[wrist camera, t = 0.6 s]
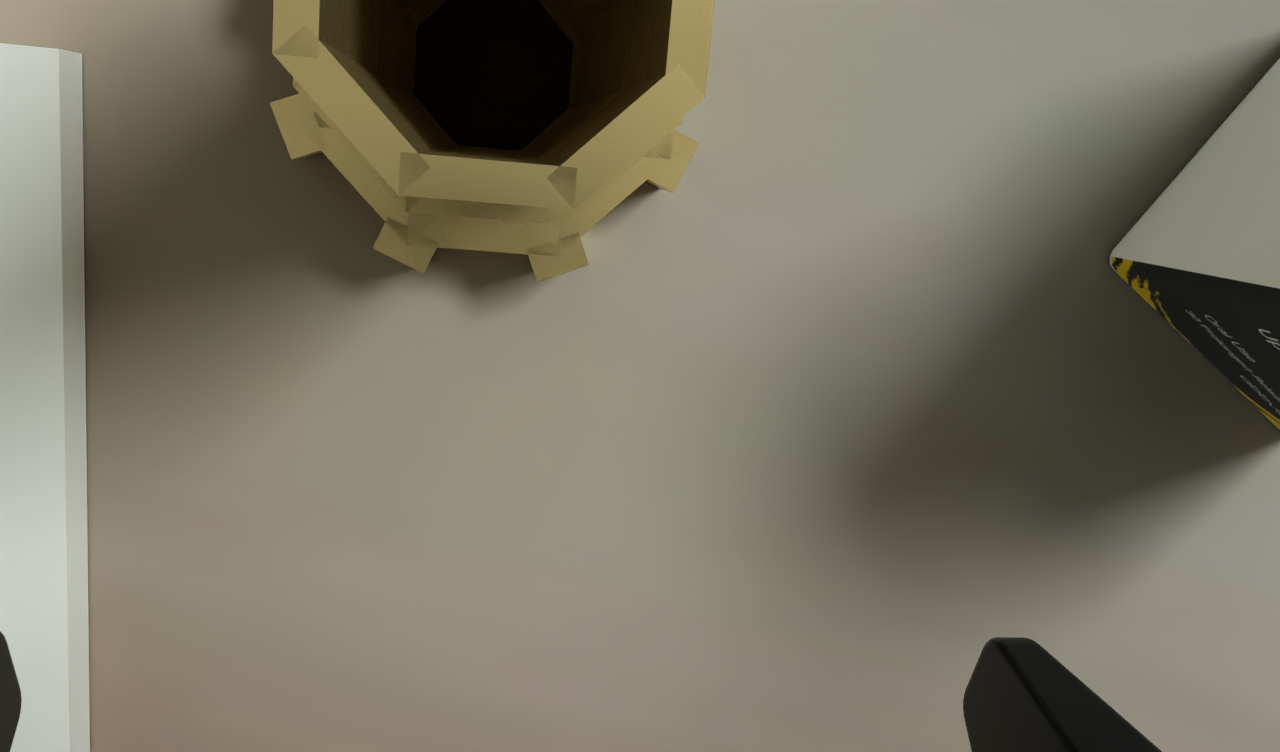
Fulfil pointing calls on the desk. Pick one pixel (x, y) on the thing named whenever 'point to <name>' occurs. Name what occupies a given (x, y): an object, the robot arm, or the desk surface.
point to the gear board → (43, 396)
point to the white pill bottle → (1221, 249)
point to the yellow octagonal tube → (486, 177)
